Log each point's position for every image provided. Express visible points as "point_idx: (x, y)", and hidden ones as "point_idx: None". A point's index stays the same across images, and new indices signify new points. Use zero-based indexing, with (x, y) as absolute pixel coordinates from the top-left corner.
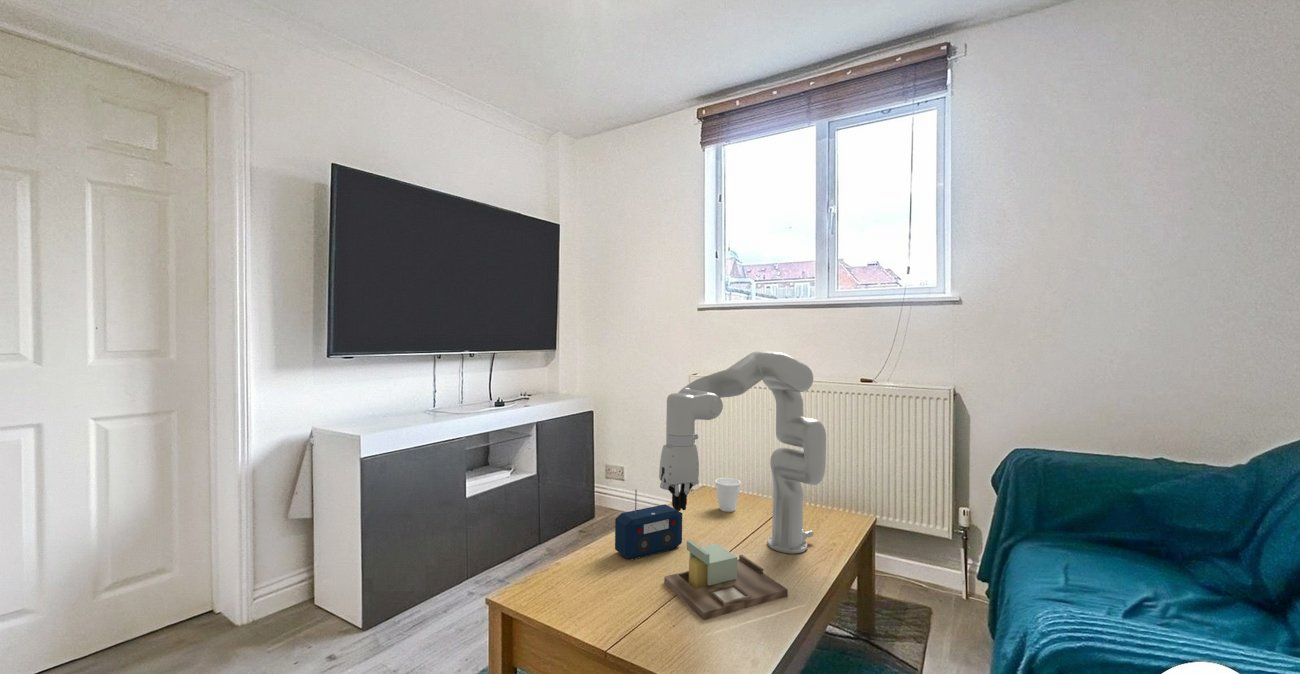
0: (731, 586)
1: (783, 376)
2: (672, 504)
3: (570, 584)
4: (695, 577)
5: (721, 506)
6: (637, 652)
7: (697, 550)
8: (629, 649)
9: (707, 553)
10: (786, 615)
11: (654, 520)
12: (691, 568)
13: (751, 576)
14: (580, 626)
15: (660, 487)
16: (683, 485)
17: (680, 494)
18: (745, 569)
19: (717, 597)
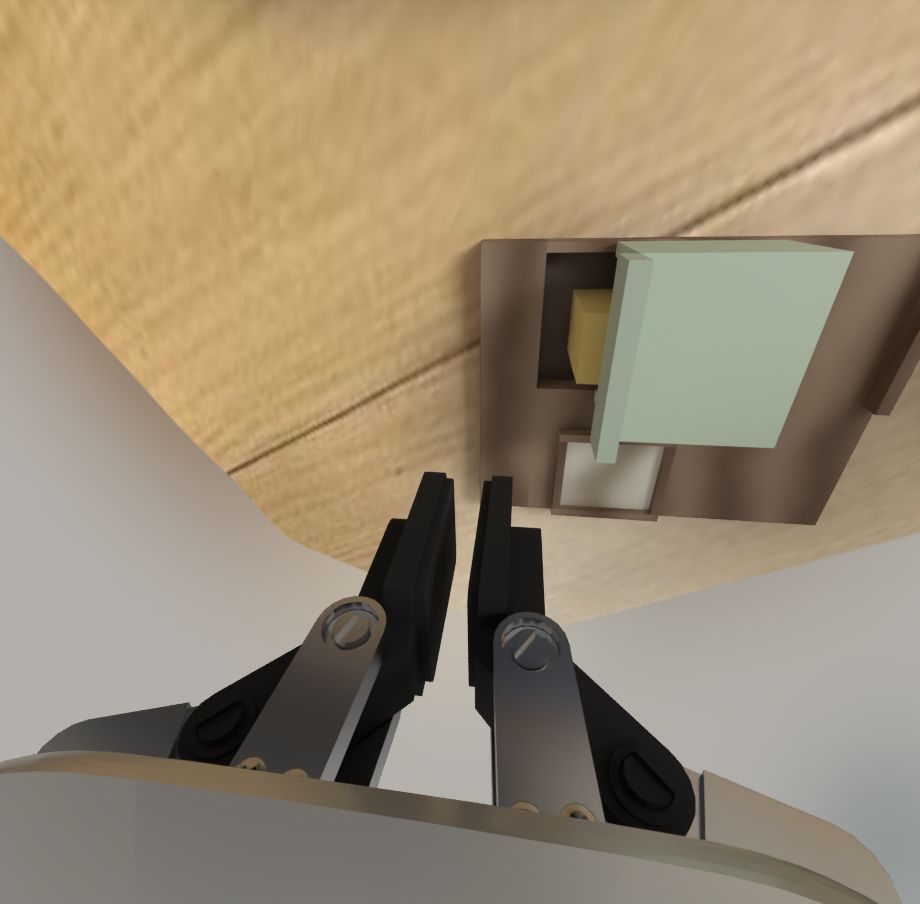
0: (657, 444)
1: None
2: (390, 528)
3: (91, 42)
4: (571, 354)
5: None
6: (285, 510)
7: (607, 381)
8: (270, 496)
9: (611, 454)
10: (697, 562)
11: None
12: (578, 327)
13: (804, 407)
14: (157, 367)
15: (69, 729)
16: (542, 749)
17: (469, 638)
18: (848, 348)
19: (556, 482)
